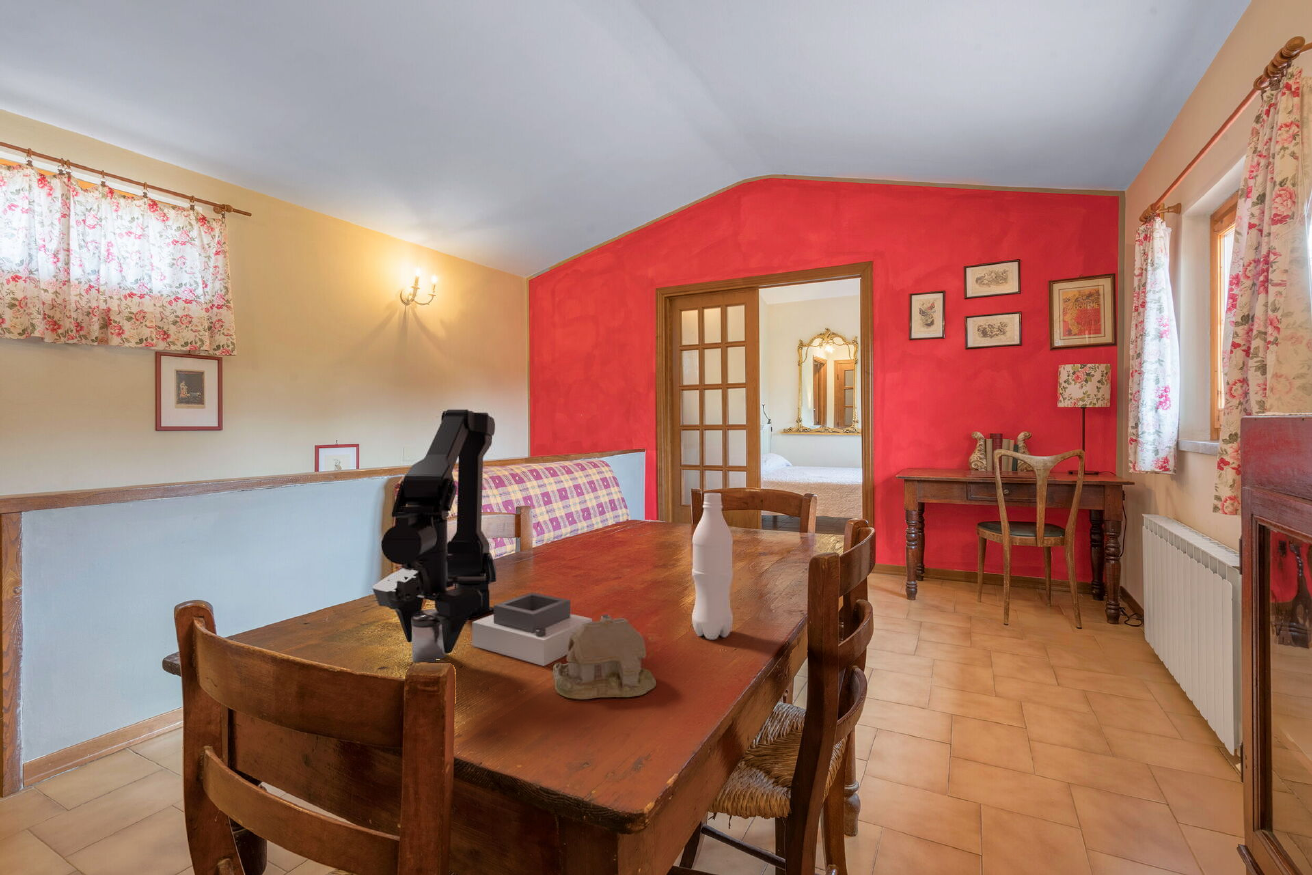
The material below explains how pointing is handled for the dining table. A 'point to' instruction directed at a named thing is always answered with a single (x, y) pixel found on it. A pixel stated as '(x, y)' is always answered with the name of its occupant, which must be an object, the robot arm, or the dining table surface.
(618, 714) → the dining table surface
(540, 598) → the tray on white base
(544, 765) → the dining table surface
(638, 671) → the ceramic model
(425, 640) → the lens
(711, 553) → the water bottle
